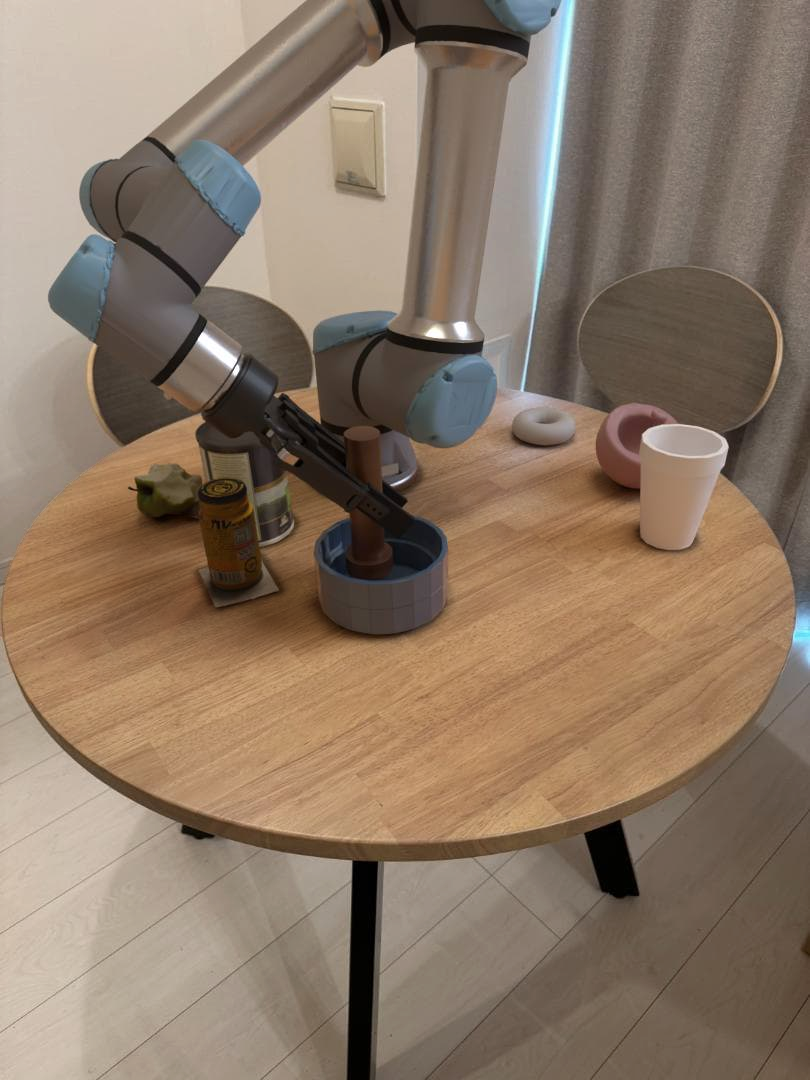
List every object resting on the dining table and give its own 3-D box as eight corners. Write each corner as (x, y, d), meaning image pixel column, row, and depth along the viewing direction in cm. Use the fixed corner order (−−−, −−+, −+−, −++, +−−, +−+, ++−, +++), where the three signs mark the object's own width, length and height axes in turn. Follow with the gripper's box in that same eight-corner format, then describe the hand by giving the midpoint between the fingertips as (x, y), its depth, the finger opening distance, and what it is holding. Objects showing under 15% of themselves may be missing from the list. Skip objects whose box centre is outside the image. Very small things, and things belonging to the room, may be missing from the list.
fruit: (152, 543, 96) (125, 490, 92) (144, 516, 103) (119, 466, 99) (219, 515, 98) (196, 462, 94) (206, 491, 106) (184, 441, 101)
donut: (515, 450, 114) (580, 448, 113) (515, 430, 112) (582, 427, 112) (508, 424, 122) (569, 422, 122) (508, 405, 120) (570, 402, 120)
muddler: (347, 554, 84) (337, 423, 75) (393, 553, 84) (388, 422, 75) (344, 581, 79) (333, 444, 71) (393, 579, 79) (388, 443, 71)
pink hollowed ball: (627, 512, 97) (639, 431, 91) (574, 474, 106) (582, 399, 100) (698, 492, 101) (715, 414, 95) (641, 458, 110) (653, 385, 104)
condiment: (258, 555, 90) (244, 467, 84) (279, 591, 84) (266, 499, 77) (198, 571, 88) (179, 482, 81) (215, 610, 81) (196, 516, 75)
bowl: (325, 563, 88) (320, 513, 85) (443, 560, 88) (443, 509, 85) (314, 640, 76) (308, 585, 73) (451, 636, 76) (452, 581, 73)
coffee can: (287, 503, 101) (275, 406, 94) (300, 541, 93) (288, 438, 85) (211, 515, 99) (192, 417, 91) (217, 555, 91) (197, 451, 83)
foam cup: (710, 560, 87) (734, 461, 80) (629, 553, 88) (645, 455, 82) (700, 520, 95) (720, 426, 88) (625, 514, 96) (640, 421, 89)
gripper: (200, 382, 76) (368, 505, 87) (192, 449, 62) (392, 585, 73) (246, 326, 74) (411, 459, 85) (247, 383, 60) (445, 533, 71)
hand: (402, 517), depth 79 cm, fingers closed on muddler, 4 cm apart
